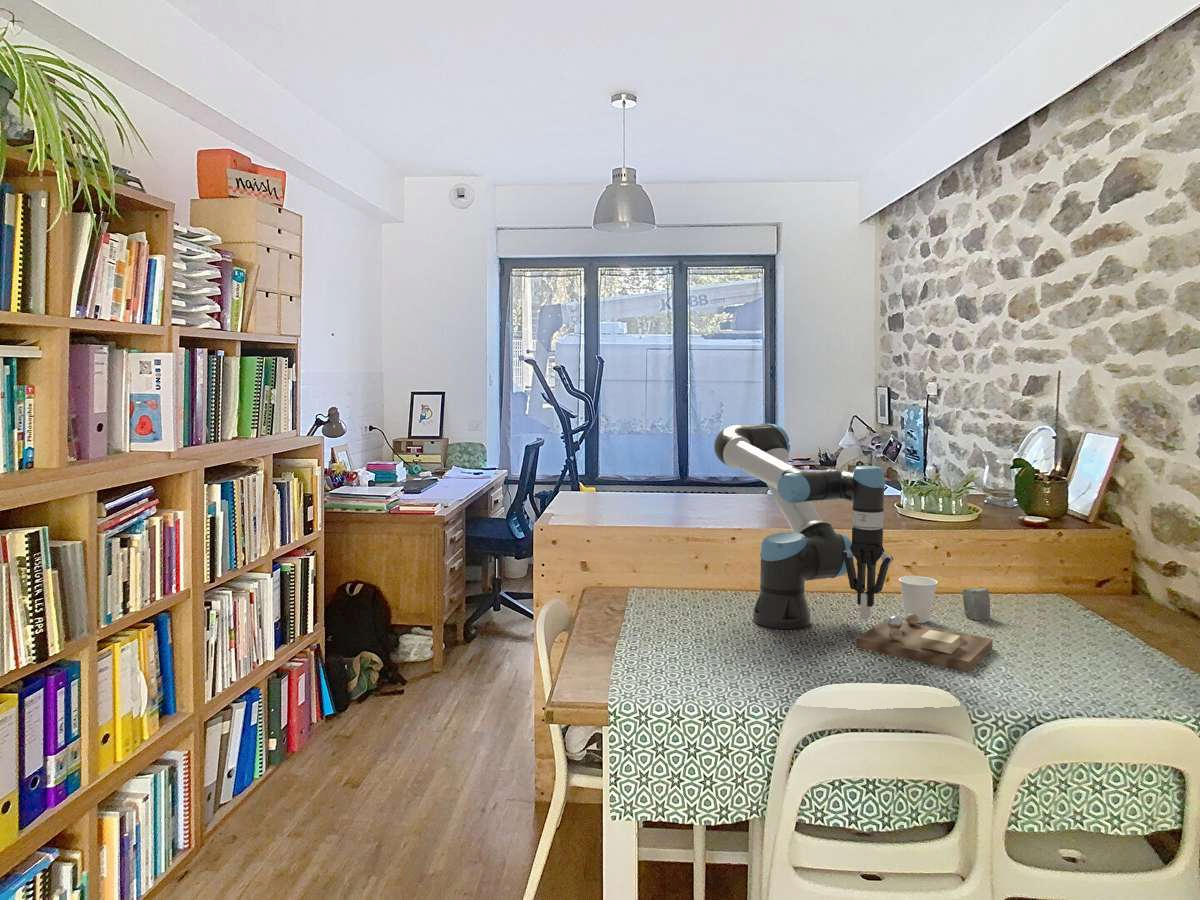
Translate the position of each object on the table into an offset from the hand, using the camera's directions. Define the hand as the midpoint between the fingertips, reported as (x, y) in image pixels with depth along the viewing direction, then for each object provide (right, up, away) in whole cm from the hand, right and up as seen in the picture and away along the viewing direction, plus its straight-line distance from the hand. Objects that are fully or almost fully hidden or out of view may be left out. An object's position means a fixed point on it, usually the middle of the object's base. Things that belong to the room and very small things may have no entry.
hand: (865, 617), depth 214 cm
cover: (+12, -3, -18) cm, 22 cm away
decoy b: (+12, 0, 0) cm, 12 cm away
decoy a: (+3, -1, -13) cm, 13 cm away
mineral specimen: (+35, -3, +15) cm, 38 cm away
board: (+11, -5, -11) cm, 16 cm away
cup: (+18, -3, +12) cm, 22 cm away
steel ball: (+6, 0, -5) cm, 8 cm away
